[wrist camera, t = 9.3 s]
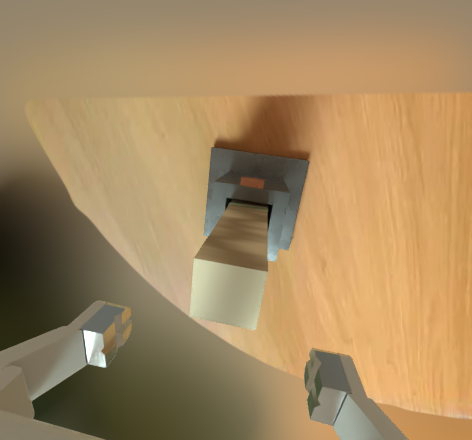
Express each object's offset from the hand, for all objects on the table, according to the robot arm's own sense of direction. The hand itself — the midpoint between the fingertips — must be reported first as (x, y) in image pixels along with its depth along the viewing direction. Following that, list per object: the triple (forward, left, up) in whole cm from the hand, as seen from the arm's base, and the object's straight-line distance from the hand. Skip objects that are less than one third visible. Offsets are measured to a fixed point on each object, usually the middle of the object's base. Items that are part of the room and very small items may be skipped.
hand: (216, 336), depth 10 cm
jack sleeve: (0, 0, -27) cm, 27 cm away
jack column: (0, 0, -19) cm, 19 cm away
